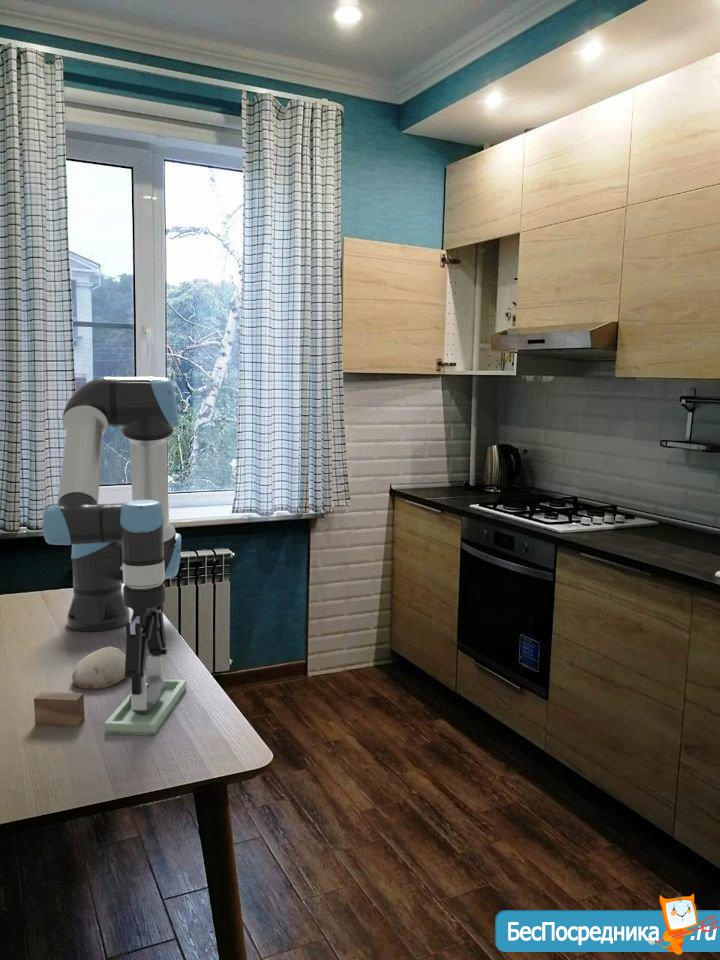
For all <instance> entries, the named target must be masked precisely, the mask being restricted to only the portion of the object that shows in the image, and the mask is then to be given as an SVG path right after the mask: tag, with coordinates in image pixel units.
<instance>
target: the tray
mask: <svg viewBox="0 0 720 960" xmlns="http://www.w3.org/2000/svg"><path fill="white" fill-rule="evenodd" d="M163 681H164V683H165V685H166V691H165V694H164V695H163V696H162V698H161V699H160V700H159V702H158V703H157V704H156V706H155V707H154V708H153V710H152V711H151V712H150V713H149V714H146V715H139V714H136V713H135V712H133V711H132V710H131V708H130V706H129V699H130V696H131V692H130V693H129V694H128V695H127V696H126V697H125V698H124V700H123V701H122V702H121V703H120V704H119V706H118V707H117V708H116V709H115V710H114V711H113V712H112V714H111V715H110V716H109V717H108V718H107V720H105V722H104V723H103V724H104V725H103V726H104V734H105V735H127V736H129V735H130V736H149V737H150V736H152V737H153V736H155V735H156V733H158V731H159V729H160V728H161V726H162V725H163V724H164V722H165V721H166V719H167V718H168V716H169V715H170V713H171V712H172V710H173V709H175V708H174V707H176V705H177V704H178V702H179V701H180V699H181V697H182V696H183V695H184V694H185V692H186V690H187V679H172V678H171V679H166V678H163Z"/></svg>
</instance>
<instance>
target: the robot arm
mask: <svg viewBox="0 0 720 960" xmlns="http://www.w3.org/2000/svg"><path fill="white" fill-rule="evenodd" d="M173 384H174V383H173V382H172V381H171V379H169V378H167V377H158V376H157V377H155V376H152V375H151V376H101V377H97V378H94V379H92V380H90V381H88V382H86V383H85V384H83V385H82V386H80V388H78V389H77V390H76V391H75V392H74V393H73V394H72V395H71V396H70V398H69V400H68V402H67V403H66V405H65V407H64V410H63V413H62V421H61V422H62V427H63V429H64V431H65V437H64V444H63V445H64V446H63V454H62V463H61V471H60V478H59V487H58V496H57V497H58V498H57V504H54V505H50V506H49V505H48V506H46V507H45V509H44V510H43V514H42V530H43V531H42V532H43V538H44V540H45V542H46V543H47V544H48V545H56V546H57V545H58V546H60V545H61V546H70V545H71V556H70V559H71V565H72V567H71V568H72V587H73V588H72V589H73V595H72V599H71V602H70V606H69V610H68V613H67V616H66V619H67V622H66V623H67V627H68V628H70V629H72V630H74V631H79V632H99V631H100V632H102V631H109V630H113V629H116V628H120V627H122V626H123V627H124V626H125V632H126V633H125V634H126V639H125V640H126V642H125V655H126V661H125V674H124V675H125V678H126V679H129V683H130V685H129V686H130V693H131V710H146V709H147V693H146V678H147V677H149V676H157V677H159V678H161V679H162V680H163V679H164V671H163V667H164V666H163V656H164V655H165V656H166V655H167V654H168V650H167V648H166V647H167V643H166V633H165V622H164V616H163V615H164V614H163V611H164V609H163V608H164V603H165V602H166V585H165V583H164V581H165V579H166V580H167V579H173V578H175V577H177V575H178V572H179V568H180V562H181V548H182V535H181V534H180V533H177V532H176V529H175V526H173V524H171V523H170V518H169V517H170V515H169V513H170V512H169V511H170V509H169V478H168V473H169V472H168V444H167V441H168V440H169V438H171V437H172V436H173V434H174V428H177V427H178V426H180V425H179V421H180V420H179V414H178V405H177V400H176V393H175V388H174V385H173ZM108 428H121V430H122V436H123V437H124V438H125V439H127V440H128V441H129V455H130V457H129V458H130V473H131V474H130V477H131V479H130V480H131V495H132V496H131V497H132V500H129V501H125V502H123V503H112V504H110V503H108V504H104V503H101V504H99V495H100V494H99V492H100V476H101V463H102V462H101V461H102V449H103V448H102V447H103V436H104V434H105V433H106V432H107V430H108ZM122 583H123V584H124V586H123V587H122ZM122 588H123V589H122ZM130 609H132V615H131V616H130ZM130 617H131V618H130ZM147 650H148V653H149V655H147ZM146 658H147V674H144V673H145V667H146V666H145V665H146ZM125 678H124V679H125Z"/></svg>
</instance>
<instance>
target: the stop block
mask: <svg viewBox="0 0 720 960" xmlns="http://www.w3.org/2000/svg"><path fill="white" fill-rule="evenodd" d="M33 705H34V706H33V707H34V719H35V720H34V722H35V723H34V724H35V725H37V726H38V725H39V726H40V725H41V726H62V727H63V726H64V727H65V726H66V727H79V725H81V724H82V722H83V721H84V720H85V719H86V717H85V715H86V714H85V712H86V711H85V695H84V692H61V691H60V692H58V691H41V692H39V694H38V695H36V696H35V697H34V698H33Z"/></svg>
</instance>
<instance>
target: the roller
mask: <svg viewBox="0 0 720 960" xmlns="http://www.w3.org/2000/svg"><path fill="white" fill-rule="evenodd" d="M165 691H166V685H165V683H164V681H163V680H162V679H161V678H159V677H157V676H149V677H148V676H146V693H147V709H146V710H132V711H133V712H135V713H136V714H139V715H146V714H149V713H150V712H151V711H152V710H153V708H154V707H155V706H156V704H157V703H158V702H159V700H160V699H161V698H162V696H163V695H164V694H165ZM129 706H130V708H131V696H130V699H129Z"/></svg>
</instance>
